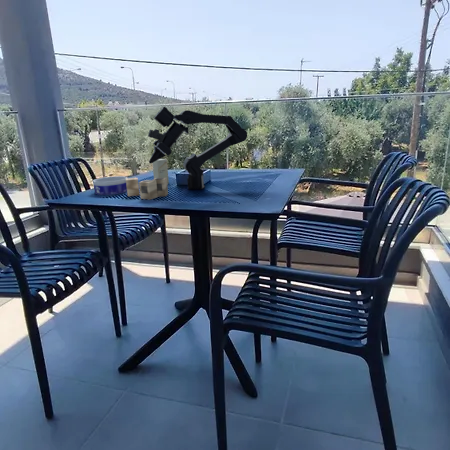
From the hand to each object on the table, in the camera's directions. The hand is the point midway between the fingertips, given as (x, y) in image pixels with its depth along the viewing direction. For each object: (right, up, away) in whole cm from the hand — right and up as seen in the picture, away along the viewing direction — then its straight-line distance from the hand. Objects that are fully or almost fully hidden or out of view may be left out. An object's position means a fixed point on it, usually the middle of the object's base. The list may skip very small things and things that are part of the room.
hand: (149, 162), depth 155 cm
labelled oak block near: (+1, -16, -6) cm, 17 cm away
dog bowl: (-20, -12, +11) cm, 26 cm away
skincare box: (+1, -7, +23) cm, 24 cm away
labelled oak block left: (+5, -14, -2) cm, 15 cm away
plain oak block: (-7, -14, +2) cm, 16 cm away
